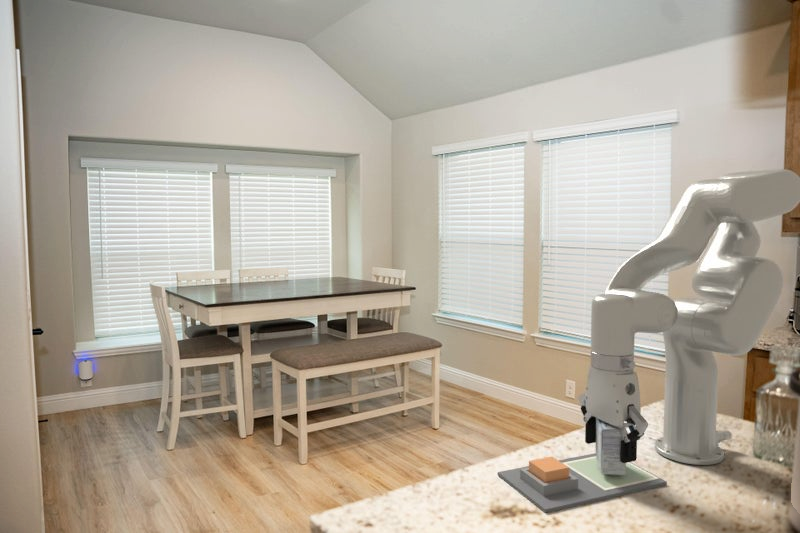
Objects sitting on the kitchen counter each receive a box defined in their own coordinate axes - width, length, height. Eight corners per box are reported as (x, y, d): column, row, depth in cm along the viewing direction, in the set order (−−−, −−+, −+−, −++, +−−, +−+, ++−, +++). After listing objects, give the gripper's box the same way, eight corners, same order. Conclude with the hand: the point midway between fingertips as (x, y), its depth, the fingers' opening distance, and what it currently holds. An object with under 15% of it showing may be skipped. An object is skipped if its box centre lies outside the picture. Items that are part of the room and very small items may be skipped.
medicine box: (626, 476, 106) (627, 430, 105) (600, 474, 107) (601, 428, 106) (619, 458, 113) (619, 414, 113) (594, 456, 114) (595, 413, 113)
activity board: (608, 453, 119) (609, 442, 119) (666, 484, 105) (667, 472, 105) (497, 475, 110) (497, 462, 110) (545, 512, 96) (545, 498, 96)
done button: (551, 469, 108) (552, 456, 108) (568, 480, 104) (569, 467, 103) (528, 473, 106) (528, 461, 106) (545, 485, 102) (545, 472, 102)
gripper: (664, 370, 101) (661, 466, 103) (596, 349, 118) (594, 432, 119) (630, 375, 99) (627, 473, 100) (565, 352, 115) (564, 438, 116)
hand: (609, 451), depth 110 cm, fingers closed on medicine box, 9 cm apart
